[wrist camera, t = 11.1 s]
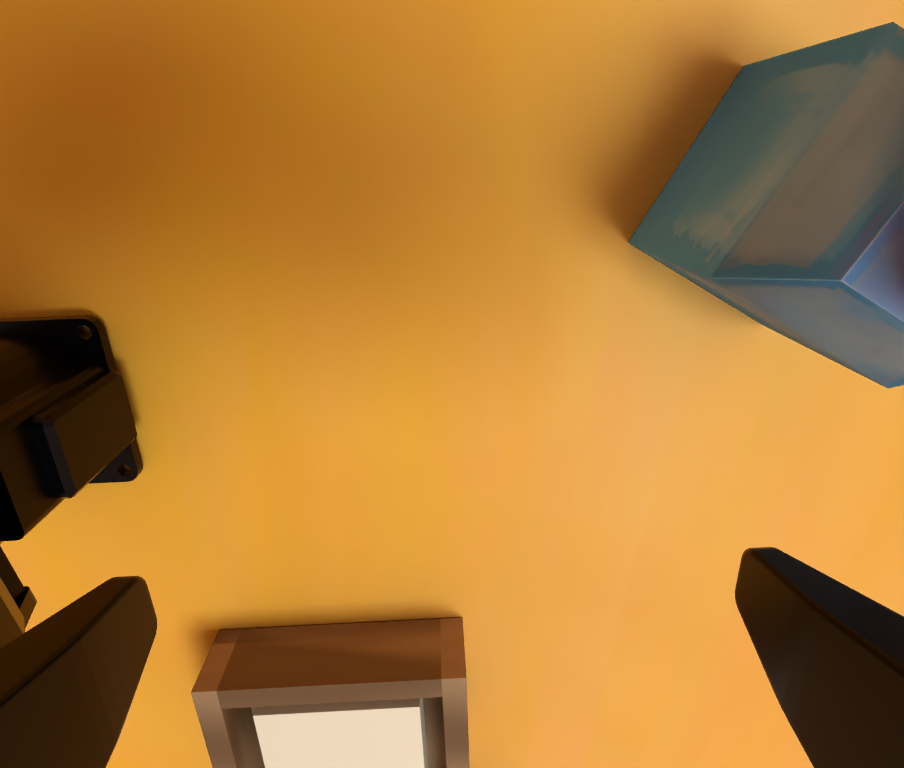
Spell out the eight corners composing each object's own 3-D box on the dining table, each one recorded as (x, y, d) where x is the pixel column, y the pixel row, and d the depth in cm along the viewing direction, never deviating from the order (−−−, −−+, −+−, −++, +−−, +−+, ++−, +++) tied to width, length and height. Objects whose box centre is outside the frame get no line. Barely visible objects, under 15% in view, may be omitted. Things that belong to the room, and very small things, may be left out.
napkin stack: (288, 777, 28) (278, 821, 26) (265, 675, 25) (252, 715, 24) (428, 770, 28) (428, 813, 26) (420, 666, 26) (419, 706, 24)
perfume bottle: (884, 168, 19) (1526, 184, 8) (762, 325, 21) (1139, 515, 10) (743, 66, 18) (1272, -91, 7) (628, 242, 20) (883, 354, 8)
